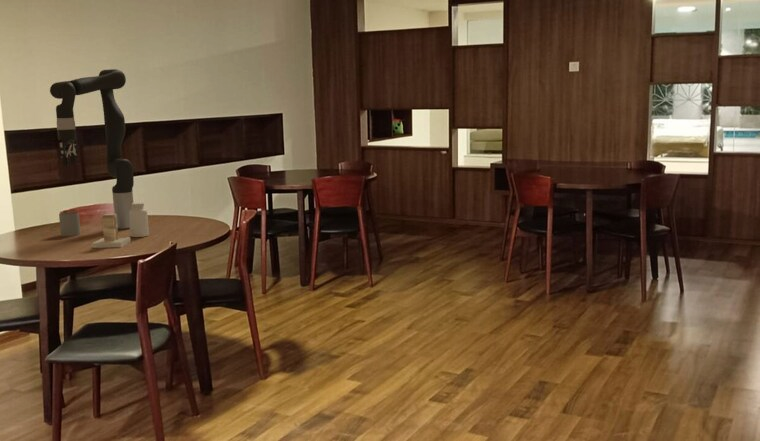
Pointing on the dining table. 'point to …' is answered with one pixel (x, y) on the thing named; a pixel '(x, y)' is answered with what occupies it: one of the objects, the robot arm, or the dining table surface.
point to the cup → (69, 224)
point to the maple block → (110, 227)
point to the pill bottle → (138, 220)
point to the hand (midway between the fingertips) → (69, 165)
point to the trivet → (111, 243)
